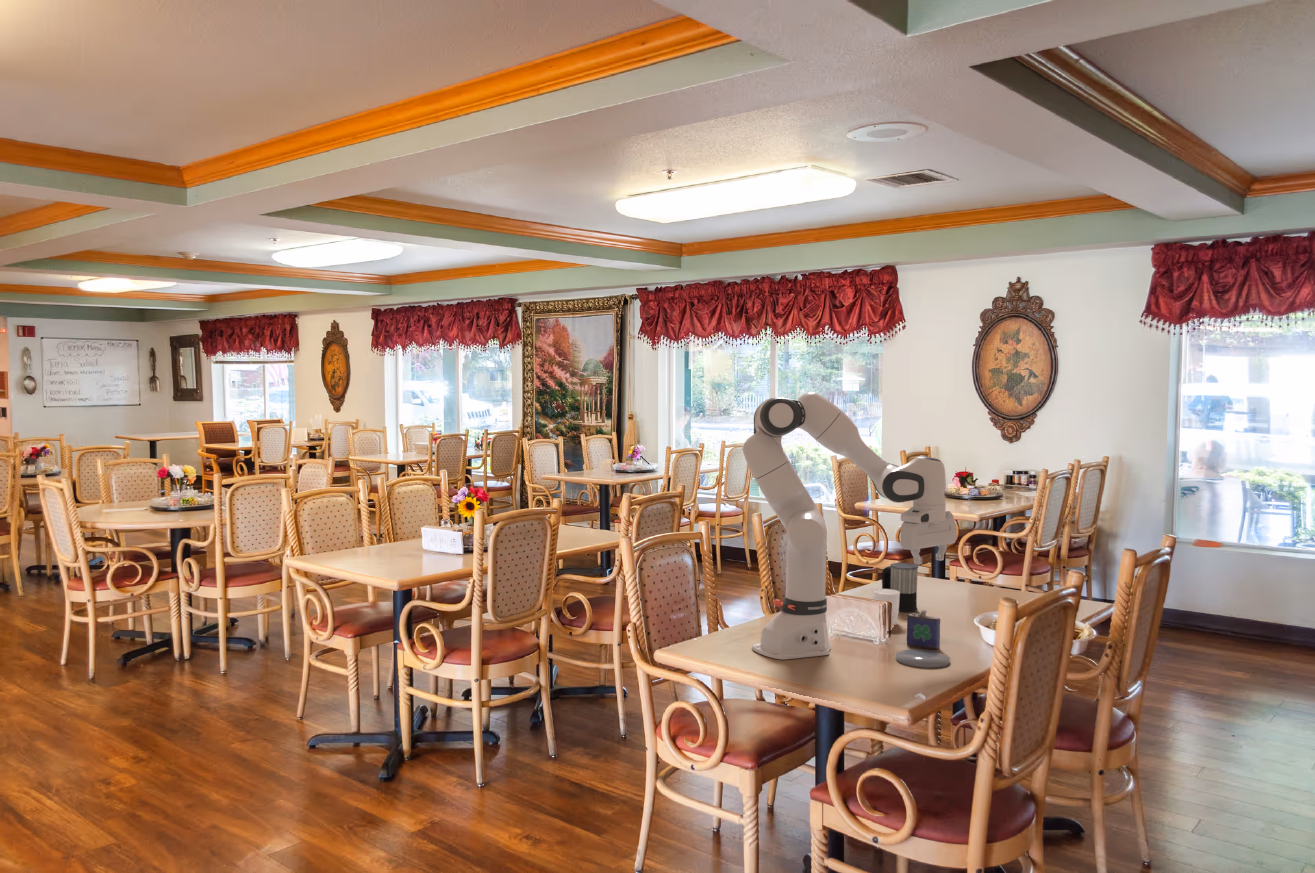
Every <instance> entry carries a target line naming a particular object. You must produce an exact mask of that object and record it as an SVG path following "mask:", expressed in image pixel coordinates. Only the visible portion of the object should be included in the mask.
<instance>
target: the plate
mask: <svg viewBox="0 0 1315 873" xmlns="http://www.w3.org/2000/svg"><path fill="white" fill-rule="evenodd" d="M895 660H896V661H897V662H898V663H900V664H902V665H905V666H909V667H912V668H913V667H914V668H919V669H939V668H944V667H947V666H949V665H950V664H951V663H950V660H951V659H950V657H949V656H948V655H946V654H945V653H941V652H939V651H936V650H935V651H934V650H930V649H916V648H915V649H904V650H901V651H897V652H896V653H895Z"/></svg>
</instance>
